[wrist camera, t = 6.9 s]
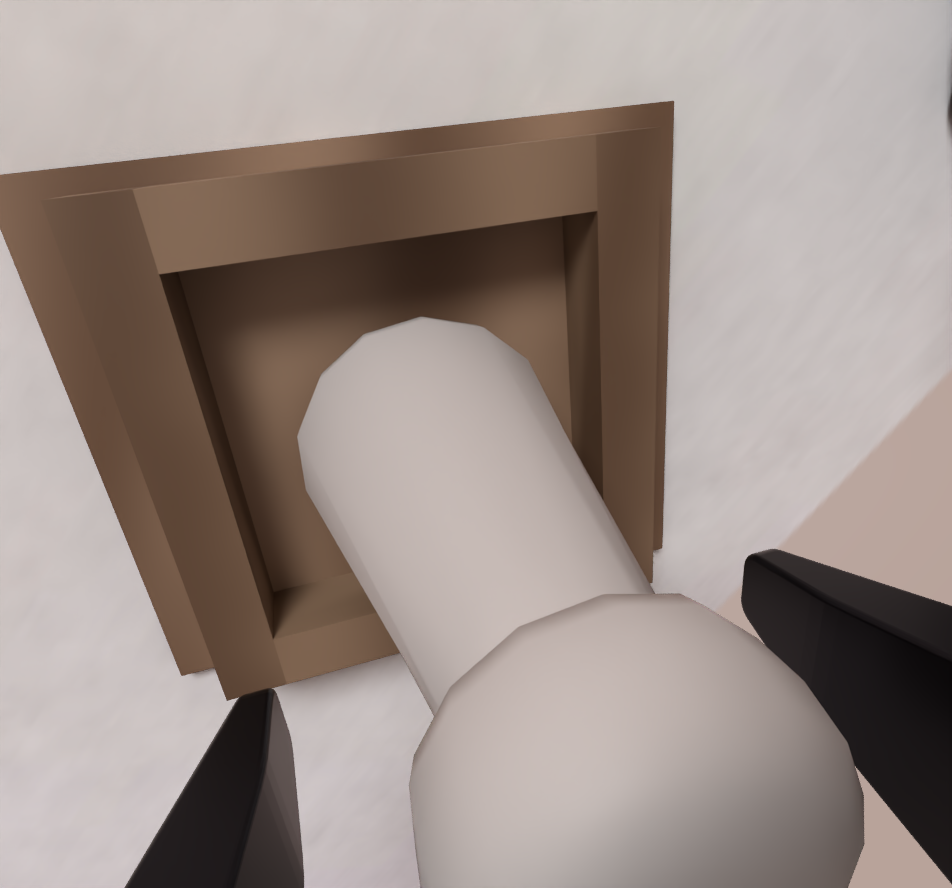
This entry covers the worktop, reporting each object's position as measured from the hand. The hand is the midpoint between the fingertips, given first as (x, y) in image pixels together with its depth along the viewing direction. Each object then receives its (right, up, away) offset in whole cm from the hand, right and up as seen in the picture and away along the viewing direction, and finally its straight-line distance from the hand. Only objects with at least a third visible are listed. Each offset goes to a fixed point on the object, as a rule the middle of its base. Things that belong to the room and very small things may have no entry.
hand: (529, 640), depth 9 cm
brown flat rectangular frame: (-3, +4, +8) cm, 10 cm away
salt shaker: (-2, +4, +8) cm, 9 cm away
